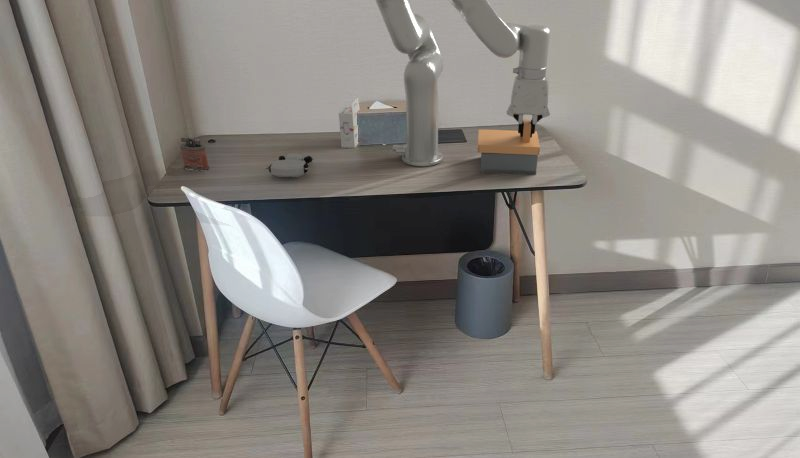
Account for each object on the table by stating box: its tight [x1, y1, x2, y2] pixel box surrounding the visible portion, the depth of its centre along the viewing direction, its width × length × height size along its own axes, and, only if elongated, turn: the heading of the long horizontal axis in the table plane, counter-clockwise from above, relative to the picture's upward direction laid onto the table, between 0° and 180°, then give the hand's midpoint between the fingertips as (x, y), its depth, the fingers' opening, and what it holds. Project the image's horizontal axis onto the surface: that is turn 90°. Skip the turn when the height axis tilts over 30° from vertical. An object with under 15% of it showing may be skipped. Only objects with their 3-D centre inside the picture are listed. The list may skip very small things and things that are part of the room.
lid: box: [477, 118, 541, 156], centre depth 177 cm, size 17×13×7 cm
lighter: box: [179, 136, 210, 171], centre depth 183 cm, size 8×3×10 cm, turn 74°
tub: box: [480, 153, 539, 175], centre depth 180 cm, size 16×12×6 cm
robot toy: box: [264, 153, 315, 179], centre depth 180 cm, size 12×4×15 cm
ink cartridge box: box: [338, 97, 361, 149], centre depth 198 cm, size 9×5×15 cm, turn 168°
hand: (525, 135), depth 177 cm, fingers closed on lid
